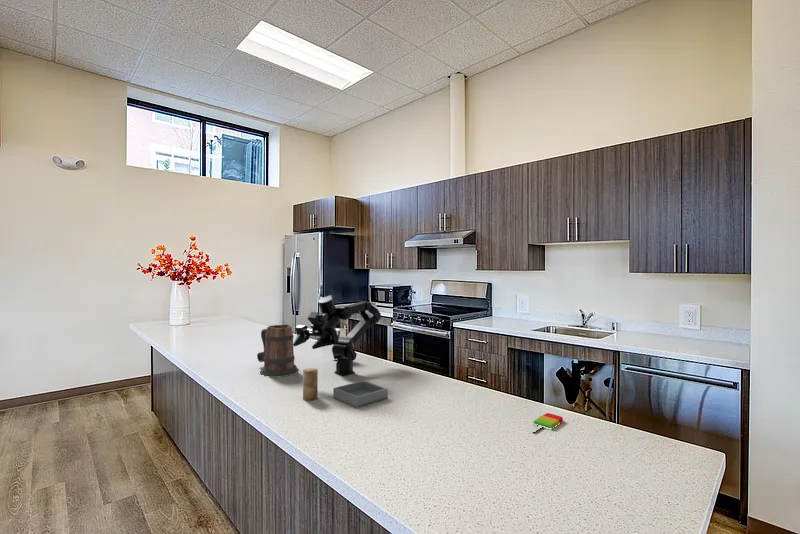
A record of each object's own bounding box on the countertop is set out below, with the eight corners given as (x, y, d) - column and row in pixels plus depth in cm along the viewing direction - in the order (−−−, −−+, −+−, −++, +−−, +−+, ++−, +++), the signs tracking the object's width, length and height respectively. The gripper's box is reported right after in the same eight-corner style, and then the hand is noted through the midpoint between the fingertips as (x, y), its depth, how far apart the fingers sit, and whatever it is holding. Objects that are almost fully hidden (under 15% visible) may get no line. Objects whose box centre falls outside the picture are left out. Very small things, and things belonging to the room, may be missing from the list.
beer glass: (346, 358, 201) (347, 328, 201) (343, 361, 194) (343, 330, 194) (333, 357, 202) (333, 327, 202) (329, 361, 195) (329, 330, 195)
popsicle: (564, 423, 122) (564, 416, 122) (542, 438, 111) (542, 431, 111) (546, 417, 126) (546, 412, 126) (523, 432, 115) (523, 425, 115)
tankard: (307, 370, 178) (307, 325, 177) (274, 379, 164) (274, 330, 164) (274, 362, 192) (274, 320, 192) (242, 369, 178) (242, 325, 178)
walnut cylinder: (312, 395, 145) (312, 367, 145) (320, 398, 141) (320, 370, 141) (300, 398, 141) (300, 370, 141) (307, 401, 138) (307, 372, 138)
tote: (363, 389, 151) (363, 380, 151) (387, 398, 142) (387, 388, 142) (333, 397, 142) (333, 388, 142) (357, 408, 132) (357, 397, 132)
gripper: (304, 306, 164) (278, 326, 152) (341, 308, 155) (316, 330, 143) (311, 329, 168) (286, 350, 156) (347, 333, 160) (324, 356, 147)
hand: (303, 346), depth 150 cm, fingers open, 9 cm apart
